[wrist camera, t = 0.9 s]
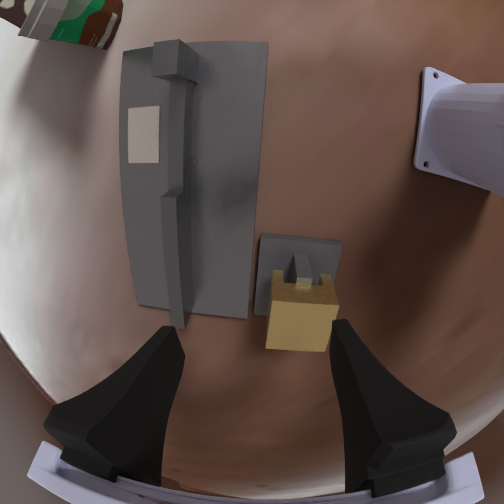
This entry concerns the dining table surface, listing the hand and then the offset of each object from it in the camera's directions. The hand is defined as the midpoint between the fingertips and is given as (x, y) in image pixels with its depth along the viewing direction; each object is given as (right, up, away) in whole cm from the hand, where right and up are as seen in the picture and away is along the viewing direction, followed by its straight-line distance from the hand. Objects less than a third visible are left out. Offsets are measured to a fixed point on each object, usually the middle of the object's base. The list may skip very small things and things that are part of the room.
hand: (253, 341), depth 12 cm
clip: (+3, +1, +8) cm, 8 cm away
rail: (-5, +9, +7) cm, 12 cm away
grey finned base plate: (+3, +2, +10) cm, 11 cm away
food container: (-13, +24, 0) cm, 27 cm away
